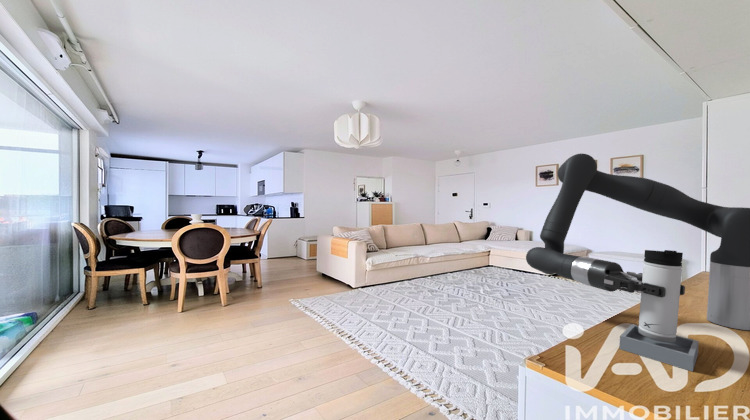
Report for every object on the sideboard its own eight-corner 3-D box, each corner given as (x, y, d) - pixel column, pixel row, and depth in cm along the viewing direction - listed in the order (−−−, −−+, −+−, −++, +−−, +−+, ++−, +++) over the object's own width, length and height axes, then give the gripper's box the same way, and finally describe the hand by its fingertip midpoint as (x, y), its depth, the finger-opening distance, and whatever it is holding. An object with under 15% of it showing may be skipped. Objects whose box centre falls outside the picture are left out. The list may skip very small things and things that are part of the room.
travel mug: (646, 340, 67) (653, 249, 66) (633, 328, 73) (639, 245, 72) (683, 346, 65) (691, 252, 64) (666, 333, 71) (673, 247, 70)
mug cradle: (631, 335, 77) (631, 324, 77) (698, 354, 68) (698, 341, 68) (619, 348, 69) (620, 335, 69) (692, 371, 61) (693, 356, 60)
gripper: (577, 260, 79) (654, 276, 64) (614, 258, 84) (695, 272, 68) (575, 288, 80) (652, 311, 64) (613, 285, 84) (692, 306, 69)
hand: (674, 291), depth 66 cm, fingers closed on travel mug, 6 cm apart
